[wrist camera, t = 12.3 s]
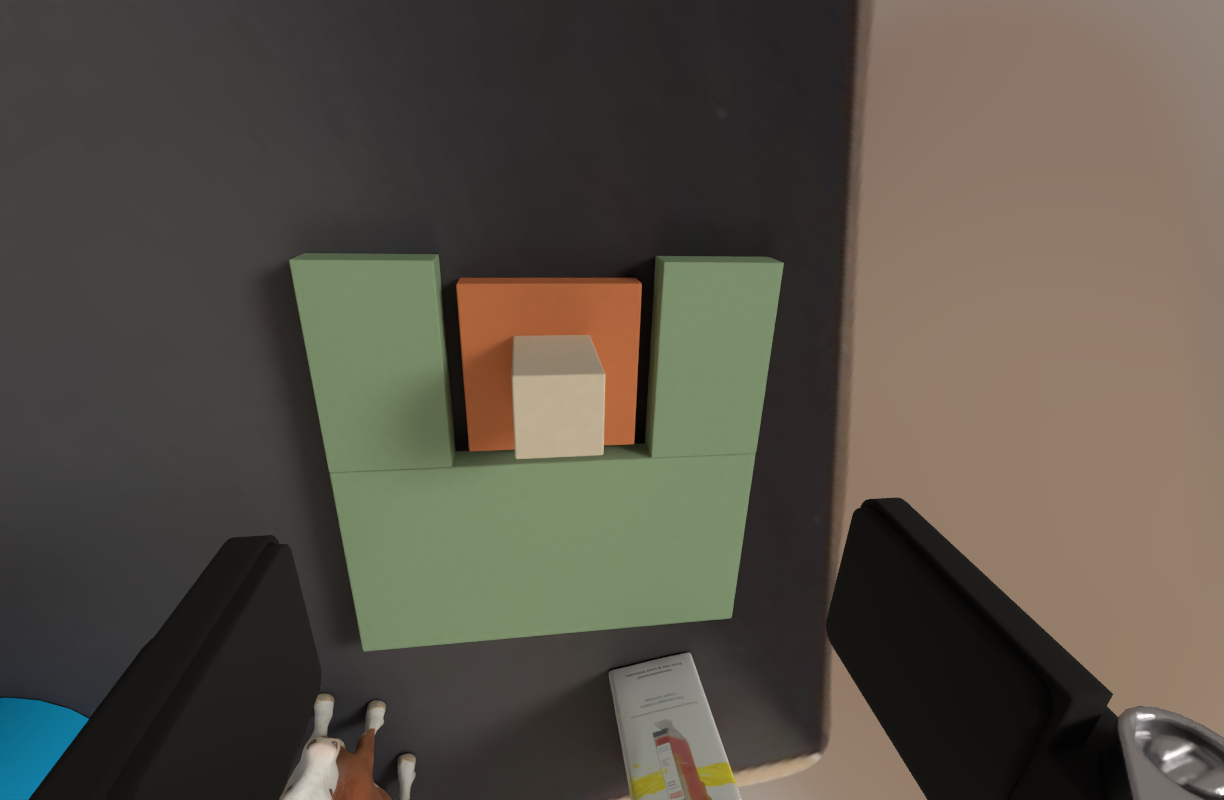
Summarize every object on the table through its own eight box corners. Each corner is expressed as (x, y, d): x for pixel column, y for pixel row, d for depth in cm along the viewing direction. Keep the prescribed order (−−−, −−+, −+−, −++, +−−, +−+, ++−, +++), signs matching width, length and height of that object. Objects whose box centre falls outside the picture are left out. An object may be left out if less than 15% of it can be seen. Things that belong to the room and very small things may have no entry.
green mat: (768, 256, 23) (784, 262, 22) (722, 598, 30) (732, 619, 29) (303, 252, 21) (288, 259, 19) (370, 628, 28) (362, 652, 26)
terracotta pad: (636, 277, 23) (670, 312, 18) (629, 432, 26) (657, 502, 20) (458, 277, 22) (439, 314, 17) (471, 439, 25) (458, 514, 19)
